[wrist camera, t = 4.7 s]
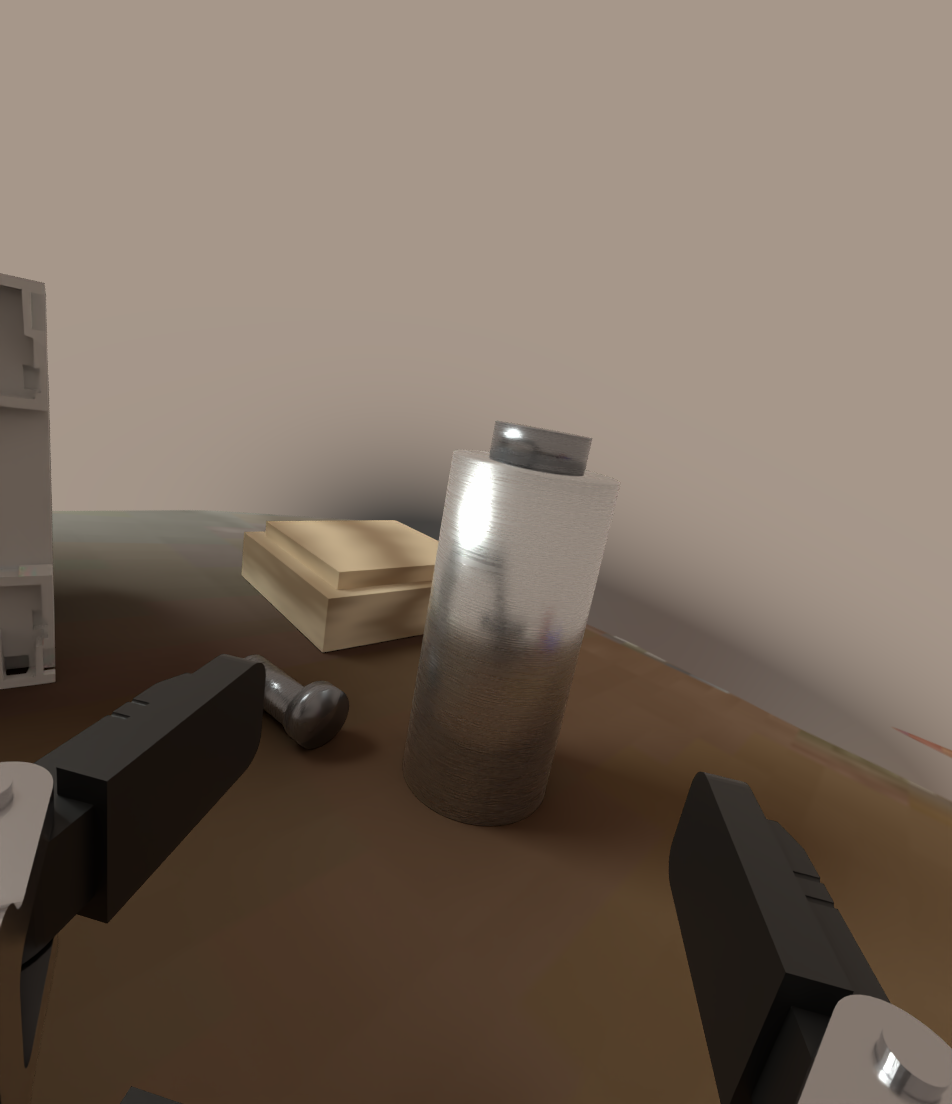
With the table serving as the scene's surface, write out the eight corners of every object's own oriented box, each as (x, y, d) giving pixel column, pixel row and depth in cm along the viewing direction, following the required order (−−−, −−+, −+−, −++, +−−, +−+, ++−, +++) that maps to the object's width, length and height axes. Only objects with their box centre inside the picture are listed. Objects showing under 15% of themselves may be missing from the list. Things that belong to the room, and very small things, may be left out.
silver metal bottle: (465, 850, 17) (552, 434, 14) (374, 751, 21) (424, 407, 18) (574, 791, 21) (662, 451, 18) (480, 716, 25) (538, 426, 22)
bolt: (345, 734, 22) (352, 682, 21) (293, 758, 20) (298, 700, 20) (273, 680, 25) (277, 632, 24) (222, 696, 23) (225, 644, 22)
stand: (322, 652, 28) (330, 580, 27) (241, 575, 37) (245, 517, 36) (490, 621, 36) (501, 565, 35) (392, 564, 45) (398, 516, 44)
